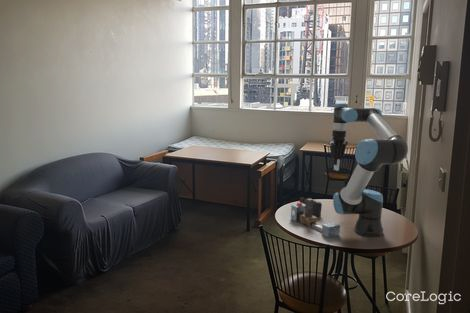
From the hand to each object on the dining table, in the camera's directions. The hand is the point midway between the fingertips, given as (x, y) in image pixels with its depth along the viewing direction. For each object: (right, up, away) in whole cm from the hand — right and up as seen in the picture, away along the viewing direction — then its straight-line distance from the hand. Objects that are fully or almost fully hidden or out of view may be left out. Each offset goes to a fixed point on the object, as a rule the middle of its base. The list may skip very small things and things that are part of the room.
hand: (336, 170), depth 238 cm
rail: (-15, -32, -8) cm, 36 cm away
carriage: (-17, -31, -4) cm, 36 cm away
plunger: (-21, -24, +2) cm, 32 cm away
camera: (-12, -28, +16) cm, 34 cm away
